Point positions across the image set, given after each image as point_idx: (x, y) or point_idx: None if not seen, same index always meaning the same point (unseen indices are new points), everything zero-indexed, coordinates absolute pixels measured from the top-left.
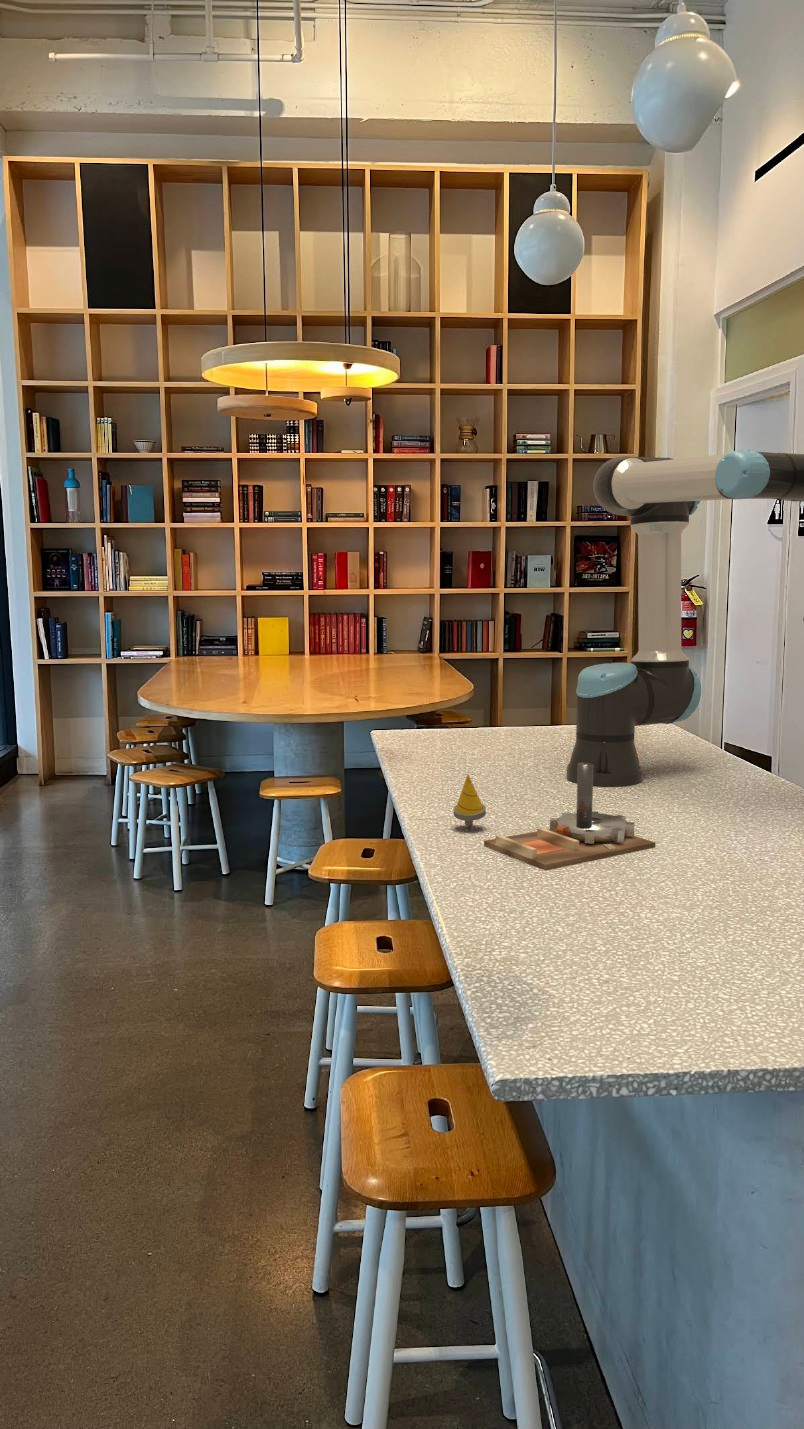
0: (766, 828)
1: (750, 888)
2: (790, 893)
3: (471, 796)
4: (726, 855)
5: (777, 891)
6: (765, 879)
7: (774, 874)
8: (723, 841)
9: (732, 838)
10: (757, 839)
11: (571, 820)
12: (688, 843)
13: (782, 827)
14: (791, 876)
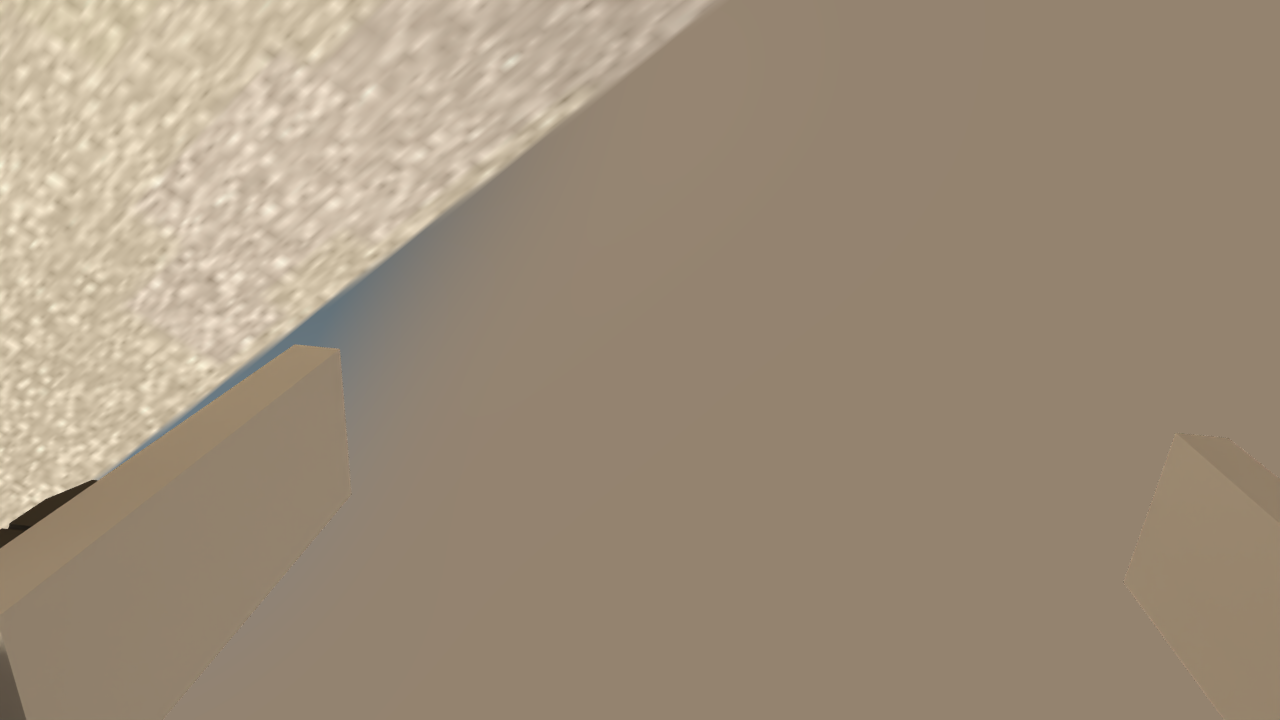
0: (487, 63)
1: (32, 406)
2: (94, 475)
3: None
4: (148, 199)
5: (76, 452)
6: (108, 388)
7: (154, 378)
8: (239, 90)
9: (289, 82)
10: (353, 140)
11: None
12: (121, 38)
13: (547, 89)
14: (181, 410)
